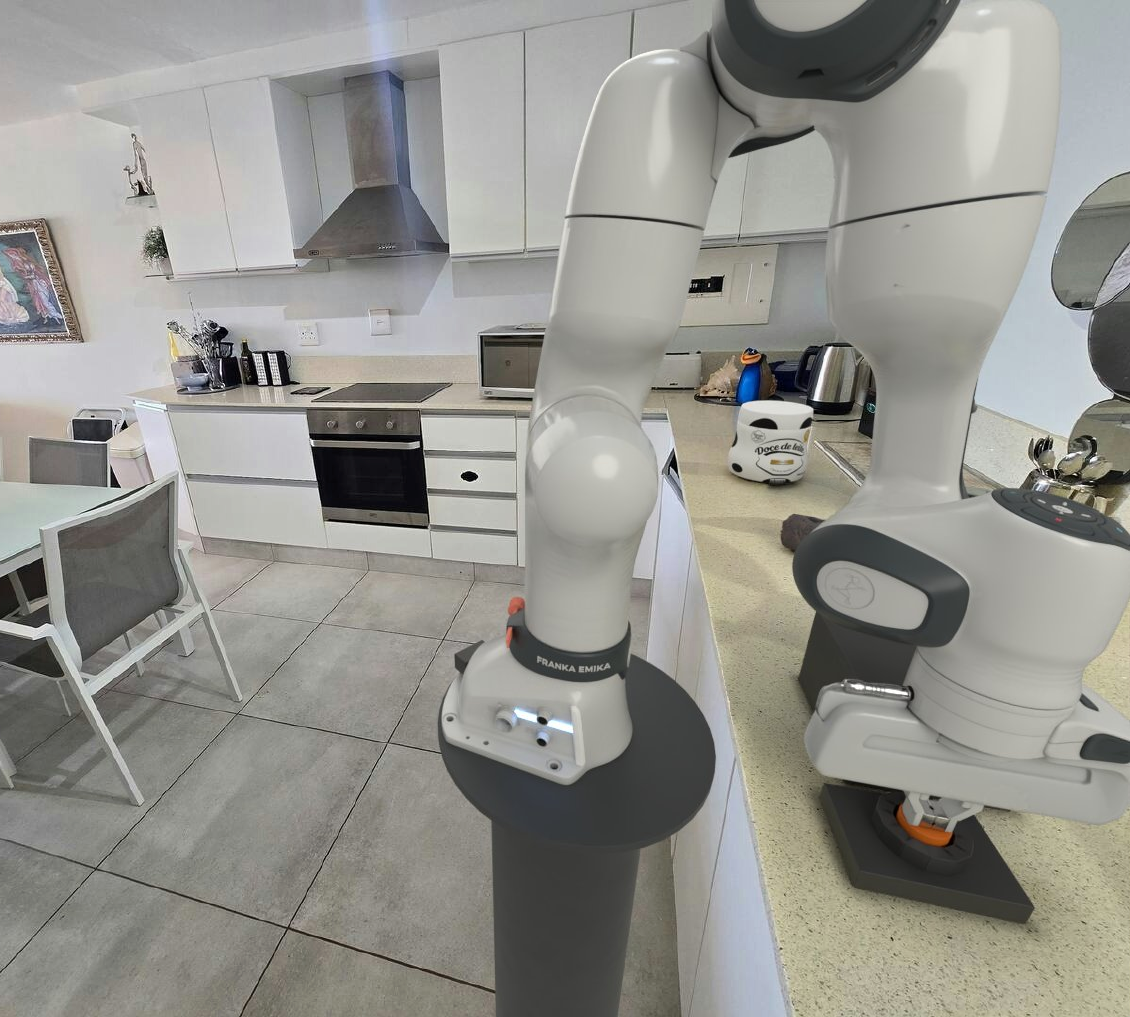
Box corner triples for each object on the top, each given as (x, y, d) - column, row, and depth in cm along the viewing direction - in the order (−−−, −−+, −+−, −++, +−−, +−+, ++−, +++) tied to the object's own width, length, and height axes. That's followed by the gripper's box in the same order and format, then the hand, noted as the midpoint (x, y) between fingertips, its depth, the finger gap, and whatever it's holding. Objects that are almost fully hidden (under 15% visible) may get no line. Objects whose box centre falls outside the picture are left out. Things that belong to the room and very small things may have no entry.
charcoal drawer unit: (797, 679, 70) (816, 608, 66) (926, 696, 66) (955, 622, 62) (843, 783, 56) (871, 700, 52) (1010, 811, 52) (1055, 725, 48)
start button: (905, 847, 47) (910, 833, 46) (886, 810, 50) (891, 797, 49) (955, 857, 46) (961, 843, 45) (933, 819, 49) (939, 805, 48)
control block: (853, 887, 47) (864, 856, 45) (818, 798, 55) (827, 769, 53) (1025, 925, 43) (1044, 893, 42) (962, 823, 51) (976, 794, 50)
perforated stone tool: (875, 560, 97) (885, 525, 94) (874, 573, 93) (885, 536, 90) (779, 541, 105) (786, 508, 102) (775, 551, 101) (782, 518, 99)
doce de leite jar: (775, 495, 126) (791, 419, 118) (710, 475, 140) (720, 406, 132) (818, 480, 133) (835, 408, 126) (752, 462, 147) (764, 396, 140)
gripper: (837, 703, 42) (799, 826, 47) (1191, 756, 36) (1102, 889, 41) (812, 652, 47) (781, 768, 53) (1116, 691, 42) (1046, 816, 47)
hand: (925, 822), depth 47 cm, fingers closed, pressing on start button
